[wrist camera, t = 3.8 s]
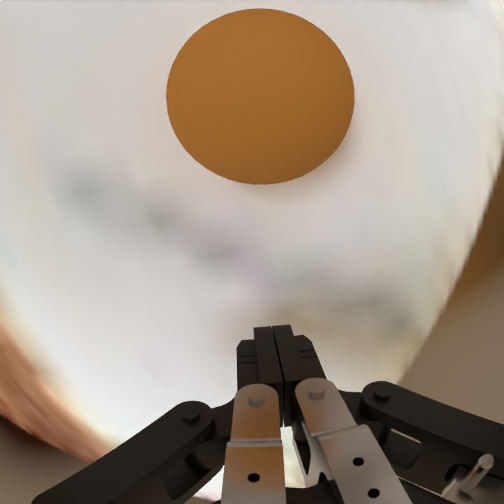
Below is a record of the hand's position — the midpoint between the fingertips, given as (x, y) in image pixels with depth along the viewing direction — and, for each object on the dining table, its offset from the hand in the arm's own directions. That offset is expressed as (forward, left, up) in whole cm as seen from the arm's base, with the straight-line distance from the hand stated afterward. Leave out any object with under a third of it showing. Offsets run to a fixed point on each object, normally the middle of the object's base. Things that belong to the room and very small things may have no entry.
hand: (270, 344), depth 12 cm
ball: (0, +10, +1) cm, 10 cm away
